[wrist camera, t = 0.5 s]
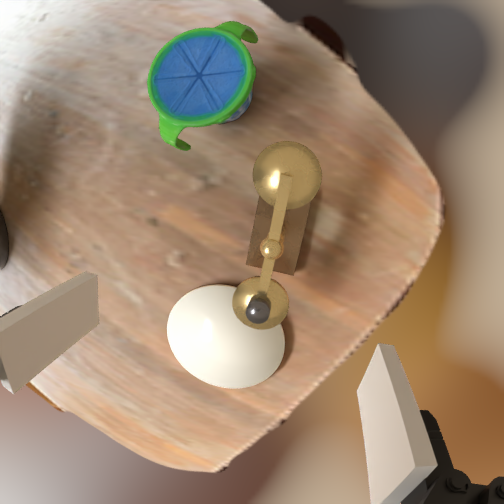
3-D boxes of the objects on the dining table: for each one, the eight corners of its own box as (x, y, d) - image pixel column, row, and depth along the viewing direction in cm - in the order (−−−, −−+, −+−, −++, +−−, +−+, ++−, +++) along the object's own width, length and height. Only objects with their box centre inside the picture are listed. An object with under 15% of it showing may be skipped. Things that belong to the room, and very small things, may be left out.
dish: (167, 366, 46) (164, 370, 45) (175, 269, 41) (171, 272, 40) (270, 394, 44) (269, 399, 43) (298, 299, 39) (298, 303, 38)
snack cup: (218, 169, 37) (189, 170, 27) (157, 124, 36) (114, 114, 26) (295, 72, 32) (293, 39, 22) (228, 32, 32) (205, -5, 22)
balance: (240, 295, 40) (219, 338, 30) (270, 144, 35) (258, 133, 24) (285, 306, 40) (278, 353, 29) (320, 155, 34) (329, 148, 24)
